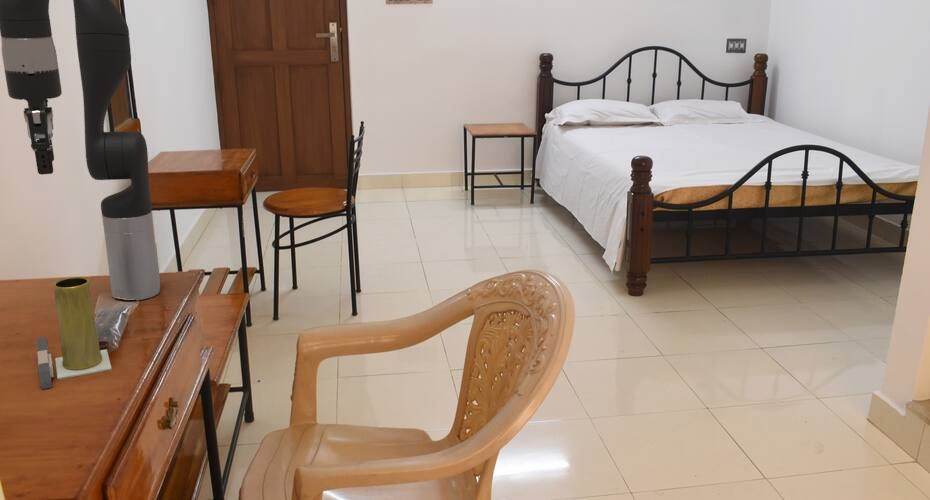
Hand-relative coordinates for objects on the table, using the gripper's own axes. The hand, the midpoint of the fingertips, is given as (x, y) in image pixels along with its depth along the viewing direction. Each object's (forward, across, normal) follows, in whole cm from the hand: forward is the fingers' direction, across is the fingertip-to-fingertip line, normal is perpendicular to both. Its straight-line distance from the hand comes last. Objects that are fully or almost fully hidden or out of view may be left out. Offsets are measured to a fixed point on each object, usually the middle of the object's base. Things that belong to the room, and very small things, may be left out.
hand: (46, 167), depth 130 cm
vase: (+32, +9, +2) cm, 33 cm away
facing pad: (+32, +10, +2) cm, 33 cm away
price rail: (+32, +10, -4) cm, 33 cm away
